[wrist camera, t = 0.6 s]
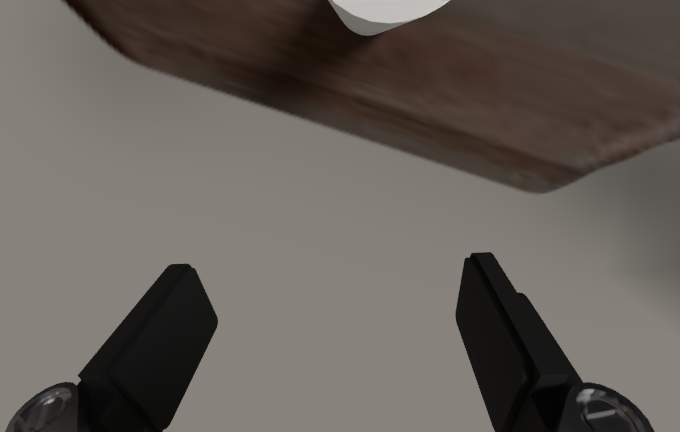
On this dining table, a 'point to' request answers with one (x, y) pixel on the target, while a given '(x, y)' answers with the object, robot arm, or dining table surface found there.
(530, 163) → the dining table surface
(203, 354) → the robot arm
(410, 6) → the cylindrical container
